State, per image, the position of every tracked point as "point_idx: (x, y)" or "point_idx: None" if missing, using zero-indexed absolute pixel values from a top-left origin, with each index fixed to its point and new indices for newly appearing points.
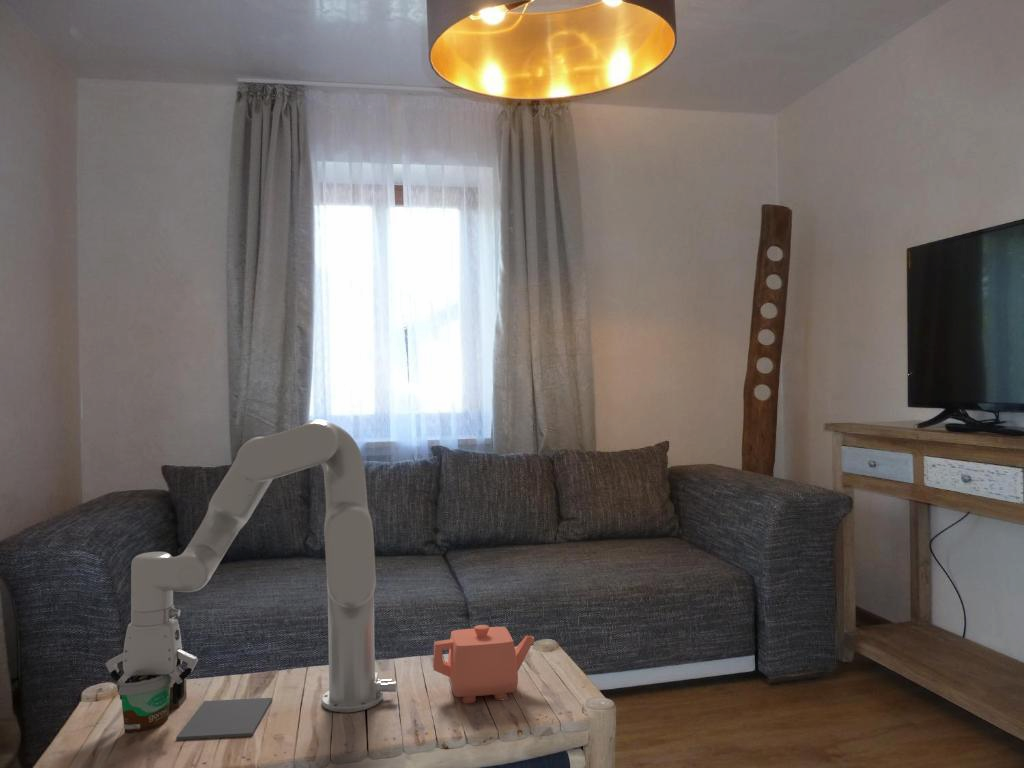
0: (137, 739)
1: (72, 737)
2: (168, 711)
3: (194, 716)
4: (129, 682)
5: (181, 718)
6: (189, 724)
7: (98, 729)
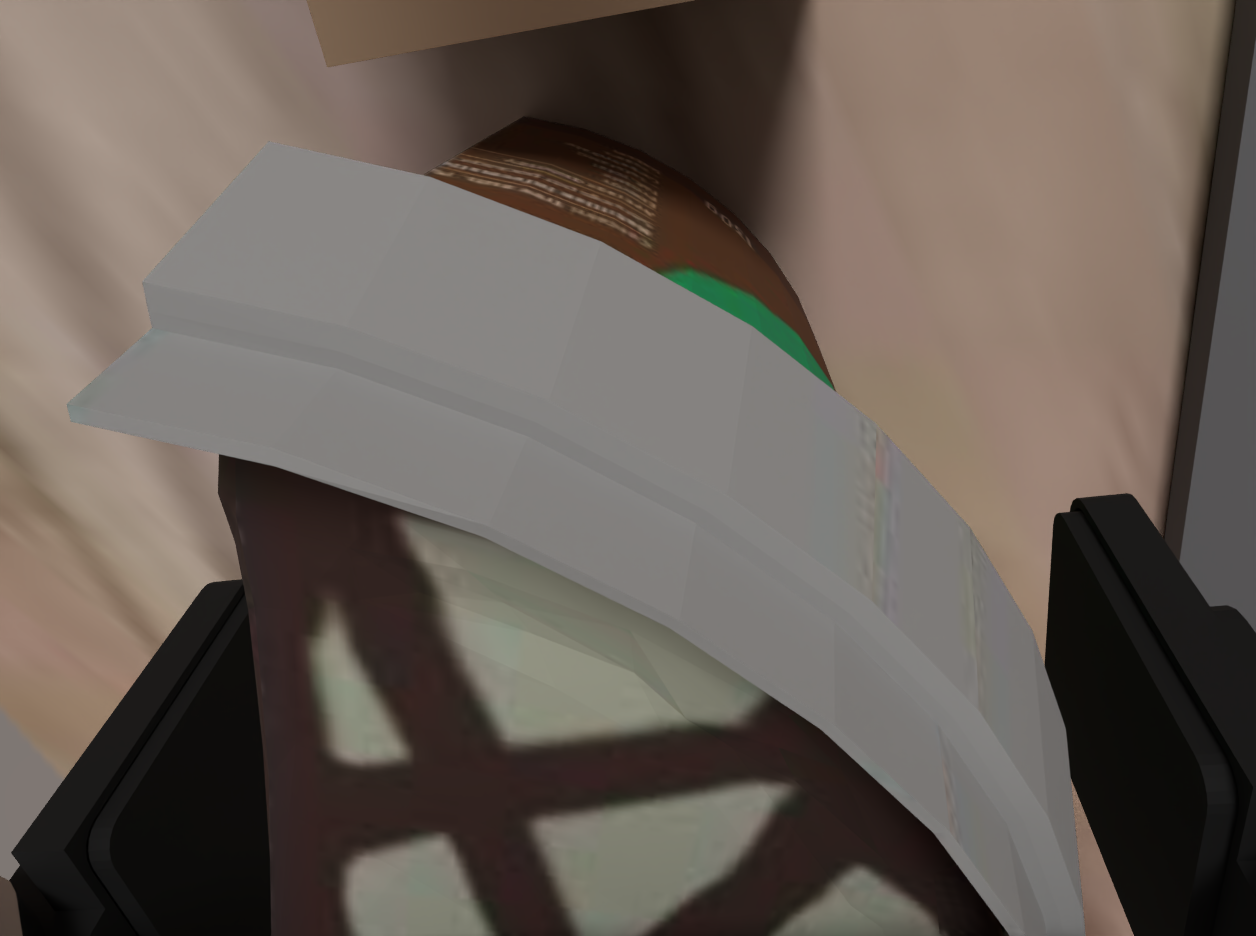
0: None
1: (66, 705)
2: (822, 358)
3: (1240, 380)
4: (134, 915)
5: (1009, 324)
6: (1221, 584)
7: (161, 578)
